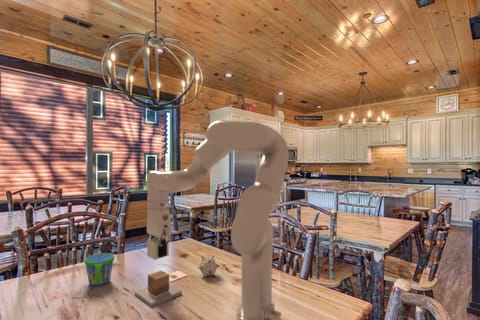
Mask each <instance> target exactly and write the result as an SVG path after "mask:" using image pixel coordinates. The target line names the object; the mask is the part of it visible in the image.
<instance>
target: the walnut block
mask: <svg viewBox="0 0 480 320" xmlns="http://www.w3.org/2000/svg"><path fill="white" fill-rule="evenodd" d="M169 274H170V273H167V272H165V271H163V270H159V271H154V272H152V273H150V274H147V287H148V292H150V293H151V294H153V295H154V296H158V295H160V294H163V293H165V292H168V291H169V284H170V283H169Z"/></svg>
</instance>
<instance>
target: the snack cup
mask: <svg viewBox="0 0 480 320" xmlns="http://www.w3.org/2000/svg"><path fill="white" fill-rule="evenodd" d="M114 261H115V255H114V254H113V253H109V252H102V253H96V254H91V255H89V256H88V257H85V258H84V265H85V266H86V274H87V280H88V284H89V286H94V287H100V286H105V285H106V284H108V283H109V282H110V280H111V277H112V271H113V263H114Z"/></svg>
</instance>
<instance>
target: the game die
mask: <svg viewBox="0 0 480 320" xmlns="http://www.w3.org/2000/svg"><path fill="white" fill-rule="evenodd" d="M214 257H215V255H212V256H210V257H203V256H201V259H202V260H201V262H200V264H199V266H198V267H197V269H199V271H200V272H201V274H202V275H203V276H202V279H204V278H205V277H207V276H213V277H216V272H217V269H218V267H220V264H218V263H217V262H216V260H215V258H214Z"/></svg>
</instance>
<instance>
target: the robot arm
mask: <svg viewBox="0 0 480 320" xmlns="http://www.w3.org/2000/svg"><path fill="white" fill-rule="evenodd" d="M233 151H241V152H250V153H259V154H260V153H261V160H260V162H259V165H258V168H257V172H256V175H255V176H256V177H255V181H254V183H253V185H251V186H249V187H248V188H246V189H245V190H244V191H243V192H242V193H241V196H240V197H239V200H238V204H237V208H236V212H235V214H234V215H235V216H234V220H233V224H232V228H231V233H230V234H231V235H230V241H231V244H232V247H233V249H234V250H235V251H236V252H237V253H238V254H240V255H241V297H240V299H241V301H240V302H241V304H240V306H238V308H237V309H236V319H237V320H281V316H282V312H279V310H278V311H277V310H276V309H275V303H274V302H272V301H273V299H272V296H273V295H272V293H273V291H272V290H273V289H272V287H273V286H272V284H273V283H272V282H273V281H272V276H273V272H272V271H273V270H272V268H273V266H272V265H273V264H272V263H273V245H274V227H273V224H272V222H271V221H270V216H271V214H272V212H274V211H275V210H276V209H277V207H278V205H279V203H280V199H281V194H282V190H283V189H282V188H283V186H284V182H285V181H284V180H285V177H286V172H287V167H288V164H289V158H290V157H289V156H290V155H289V154H290V153H289V147H288V143H287V142H286V140H285V138H284V137H283V136H282V135H281V134H280V132H278V131H277V130H276V129H274V128H273V127H270V126H268V125H265V124H263V123H261V122H257V121H241V120H240V121H239V120H235V121H234V120H222V119H220V120H216V121H213V122H211V124H210V125H208V127H207V128H206V132H205V139H204V141H203V142H202V143H200V144H199V145H198V146H196V148H195V149H194V155H195V160H194V161H193V162H192V163H191V164H189V166H187V167H186V168H185V169H183V170H172V171H171V170H170V171H167V170H166V171H164V170H153V171H149V172H148V173H147V209H146V210H147V215H146V230H145V231H146V234H147V236H148V239H151V238H156V237H157V238H158V240H159V246H158V257H162V258H164V257H163V256H166V255H167V245H168V242H169V241H170V240H171V238H172V237H171V235H172V218H171V211H170V209H169V208H170V194H172V193H173V194H174V193H180V192H184V191H188V190H191V189H193V188H194V187H195V186H197V185H198V184H199V183H201V182H202V181H203V180H204V179H206V177H207V176H208V174H209V173H210V172H211V170H212V168H213V167H214V166H216V165H217V164H218V163H219V162H221V161H222V160H223V159H224V158H226V156H228V155H229V154H231V152H233ZM162 238H164V239H163V241H162ZM169 243H170V242H169ZM166 257H167V256H166Z"/></svg>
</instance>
